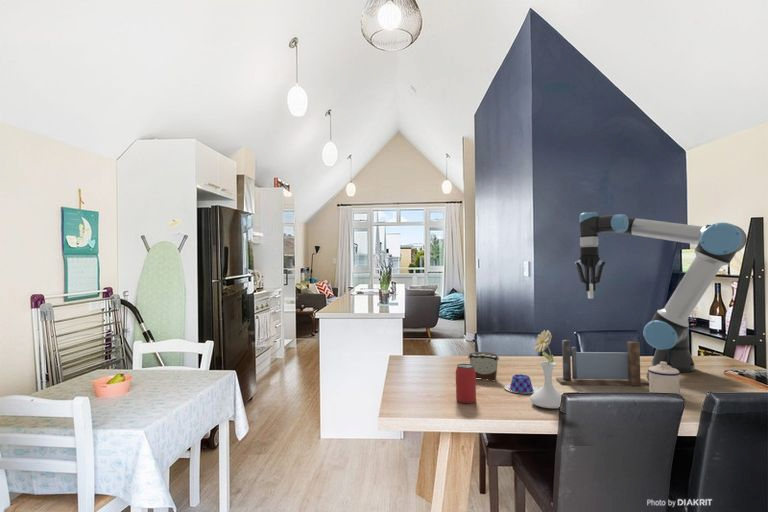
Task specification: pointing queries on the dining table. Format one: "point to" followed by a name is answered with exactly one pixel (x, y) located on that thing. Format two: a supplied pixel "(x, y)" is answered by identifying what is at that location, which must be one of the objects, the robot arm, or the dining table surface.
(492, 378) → the food container
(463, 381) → the beer can
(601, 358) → the gate leaf
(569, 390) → the dining table surface
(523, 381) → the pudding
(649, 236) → the robot arm
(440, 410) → the dining table surface
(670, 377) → the teacup with lid
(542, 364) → the flower in vase
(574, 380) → the gate frame
